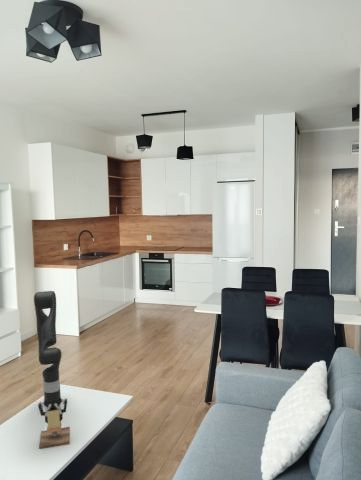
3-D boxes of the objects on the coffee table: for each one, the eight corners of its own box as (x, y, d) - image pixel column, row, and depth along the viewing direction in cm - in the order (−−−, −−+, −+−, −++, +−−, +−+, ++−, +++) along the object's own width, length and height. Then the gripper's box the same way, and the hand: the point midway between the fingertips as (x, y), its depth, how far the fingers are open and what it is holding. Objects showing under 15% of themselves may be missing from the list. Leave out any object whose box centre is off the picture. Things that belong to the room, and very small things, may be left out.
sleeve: (48, 423, 205) (47, 406, 204) (60, 421, 206) (59, 404, 206) (48, 429, 199) (47, 411, 199) (60, 427, 201) (59, 409, 200)
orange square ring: (48, 426, 205) (47, 423, 205) (61, 424, 207) (61, 421, 207) (47, 432, 199) (47, 429, 199) (61, 430, 201) (60, 427, 201)
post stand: (41, 433, 208) (39, 407, 207) (69, 428, 212) (68, 402, 211) (39, 448, 195) (37, 420, 194) (69, 443, 198) (68, 416, 197)
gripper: (67, 383, 207) (69, 415, 208) (37, 387, 203) (39, 420, 205) (67, 389, 200) (69, 423, 201) (36, 394, 196) (38, 427, 197)
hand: (54, 421), depth 203 cm, fingers closed on sleeve, 5 cm apart
